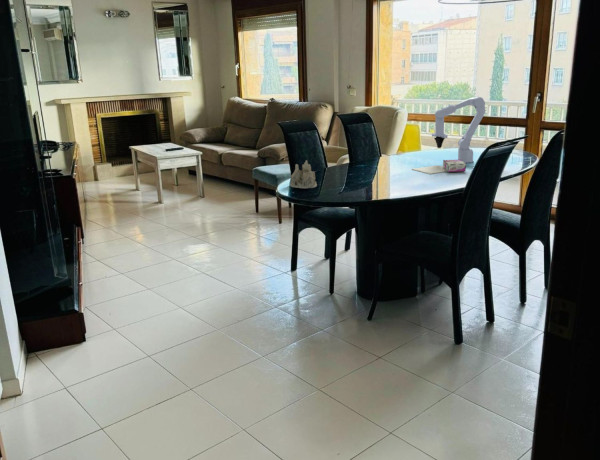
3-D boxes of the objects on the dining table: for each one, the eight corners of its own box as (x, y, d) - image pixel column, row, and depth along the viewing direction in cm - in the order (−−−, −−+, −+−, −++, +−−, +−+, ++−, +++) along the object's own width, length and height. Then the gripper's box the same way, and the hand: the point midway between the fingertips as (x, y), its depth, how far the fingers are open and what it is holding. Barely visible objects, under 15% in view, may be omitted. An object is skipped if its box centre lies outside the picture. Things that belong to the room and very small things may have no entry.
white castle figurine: (289, 183, 335) (289, 159, 330) (316, 183, 335) (316, 159, 330) (289, 190, 320) (288, 165, 315) (317, 190, 320) (317, 165, 315)
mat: (437, 166, 363) (437, 165, 363) (456, 170, 345) (456, 169, 345) (411, 169, 356) (411, 168, 356) (430, 174, 338) (430, 173, 338)
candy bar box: (442, 167, 354) (447, 172, 338) (442, 160, 352) (447, 164, 337) (460, 167, 353) (465, 171, 337) (460, 159, 352) (466, 163, 336)
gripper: (428, 127, 371) (428, 147, 375) (441, 129, 358) (441, 149, 362) (436, 126, 374) (436, 146, 378) (450, 128, 361) (449, 148, 365)
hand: (439, 147), depth 370 cm, fingers closed
